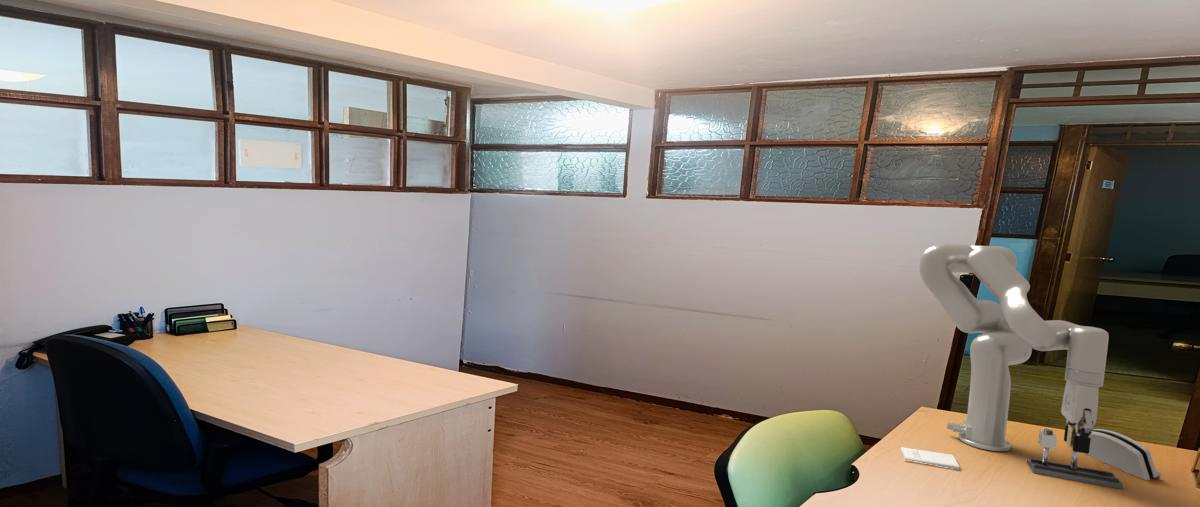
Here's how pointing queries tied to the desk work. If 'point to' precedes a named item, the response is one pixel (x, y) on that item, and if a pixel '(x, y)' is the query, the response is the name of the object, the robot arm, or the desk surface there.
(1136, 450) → the white black arched block
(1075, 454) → the tan square-headed peg
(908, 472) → the desk surface
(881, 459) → the desk surface
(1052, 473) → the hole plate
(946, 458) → the external hard drive
